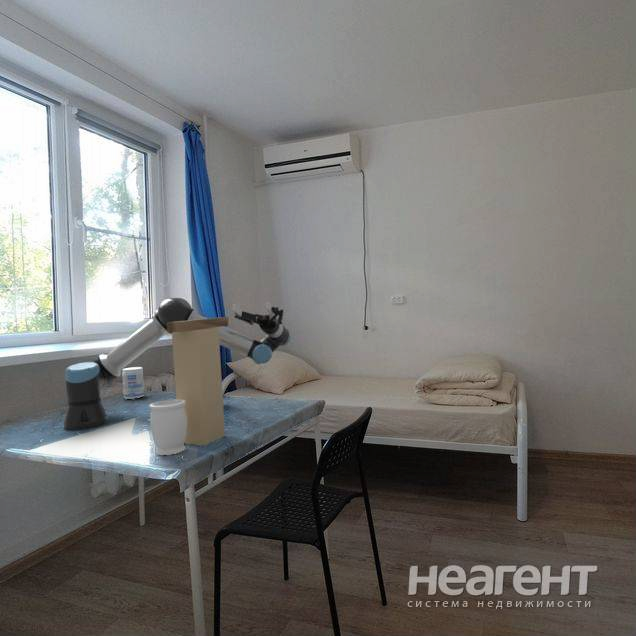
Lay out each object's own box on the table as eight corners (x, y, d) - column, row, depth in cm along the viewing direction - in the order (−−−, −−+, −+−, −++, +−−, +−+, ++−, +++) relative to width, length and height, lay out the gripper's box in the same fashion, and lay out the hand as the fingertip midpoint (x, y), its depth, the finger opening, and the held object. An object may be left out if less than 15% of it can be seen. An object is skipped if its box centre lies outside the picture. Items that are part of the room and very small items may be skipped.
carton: (179, 443, 152) (171, 331, 151) (200, 433, 162) (193, 328, 161) (205, 445, 148) (197, 330, 147) (225, 435, 158) (218, 327, 157)
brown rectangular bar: (167, 332, 145) (166, 322, 144) (218, 325, 169) (218, 317, 169) (178, 332, 143) (177, 322, 143) (228, 325, 168) (227, 317, 168)
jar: (158, 460, 137) (155, 408, 136) (148, 451, 145) (144, 403, 145) (194, 451, 143) (191, 401, 143) (182, 444, 152) (178, 397, 151)
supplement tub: (129, 400, 227) (127, 370, 227) (120, 399, 234) (118, 369, 233) (148, 397, 235) (146, 367, 234) (138, 395, 241) (136, 366, 240)
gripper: (244, 318, 201) (221, 298, 182) (300, 316, 194) (282, 295, 175) (242, 335, 199) (218, 316, 180) (298, 334, 191) (280, 314, 172)
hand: (250, 305), depth 177 cm, fingers open, 13 cm apart
